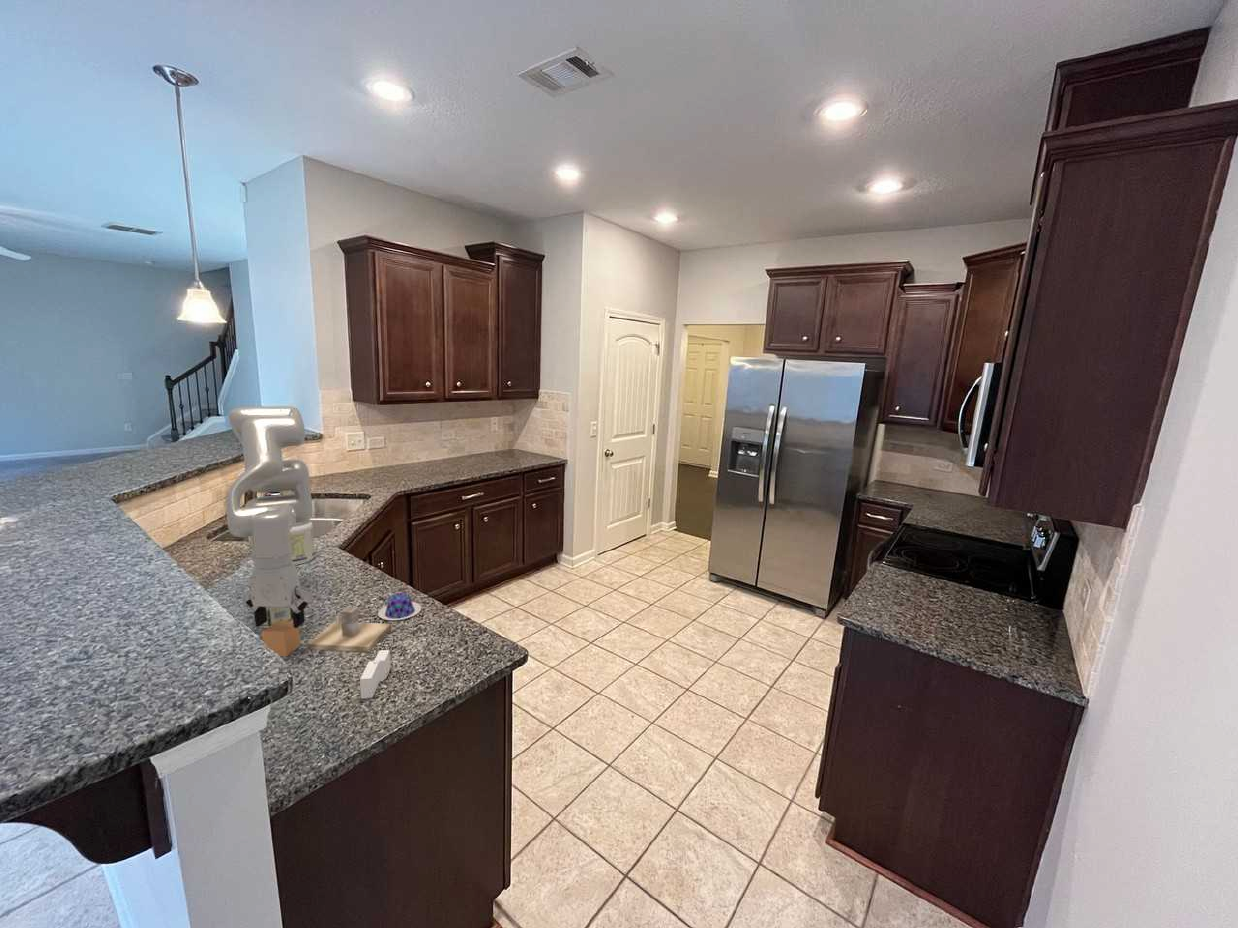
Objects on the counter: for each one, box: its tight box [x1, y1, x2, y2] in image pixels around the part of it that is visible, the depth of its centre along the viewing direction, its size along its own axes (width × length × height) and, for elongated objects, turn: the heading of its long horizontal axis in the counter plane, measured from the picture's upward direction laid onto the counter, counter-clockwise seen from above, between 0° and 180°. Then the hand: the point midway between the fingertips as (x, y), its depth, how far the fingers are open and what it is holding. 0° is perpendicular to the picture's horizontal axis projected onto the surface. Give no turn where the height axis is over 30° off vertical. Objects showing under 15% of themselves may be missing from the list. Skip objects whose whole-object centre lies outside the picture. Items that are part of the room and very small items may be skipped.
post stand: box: [307, 606, 392, 653], centre depth 136 cm, size 16×12×8 cm
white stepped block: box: [359, 649, 392, 699], centre depth 119 cm, size 15×11×6 cm
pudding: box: [377, 592, 422, 621], centre depth 152 cm, size 12×12×5 cm
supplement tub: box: [290, 520, 316, 566], centre depth 187 cm, size 12×12×17 cm
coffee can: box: [250, 575, 298, 629], centre depth 144 cm, size 10×10×14 cm
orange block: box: [261, 621, 301, 658], centre depth 130 cm, size 6×6×7 cm
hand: (280, 624), depth 129 cm, fingers open, 9 cm apart
